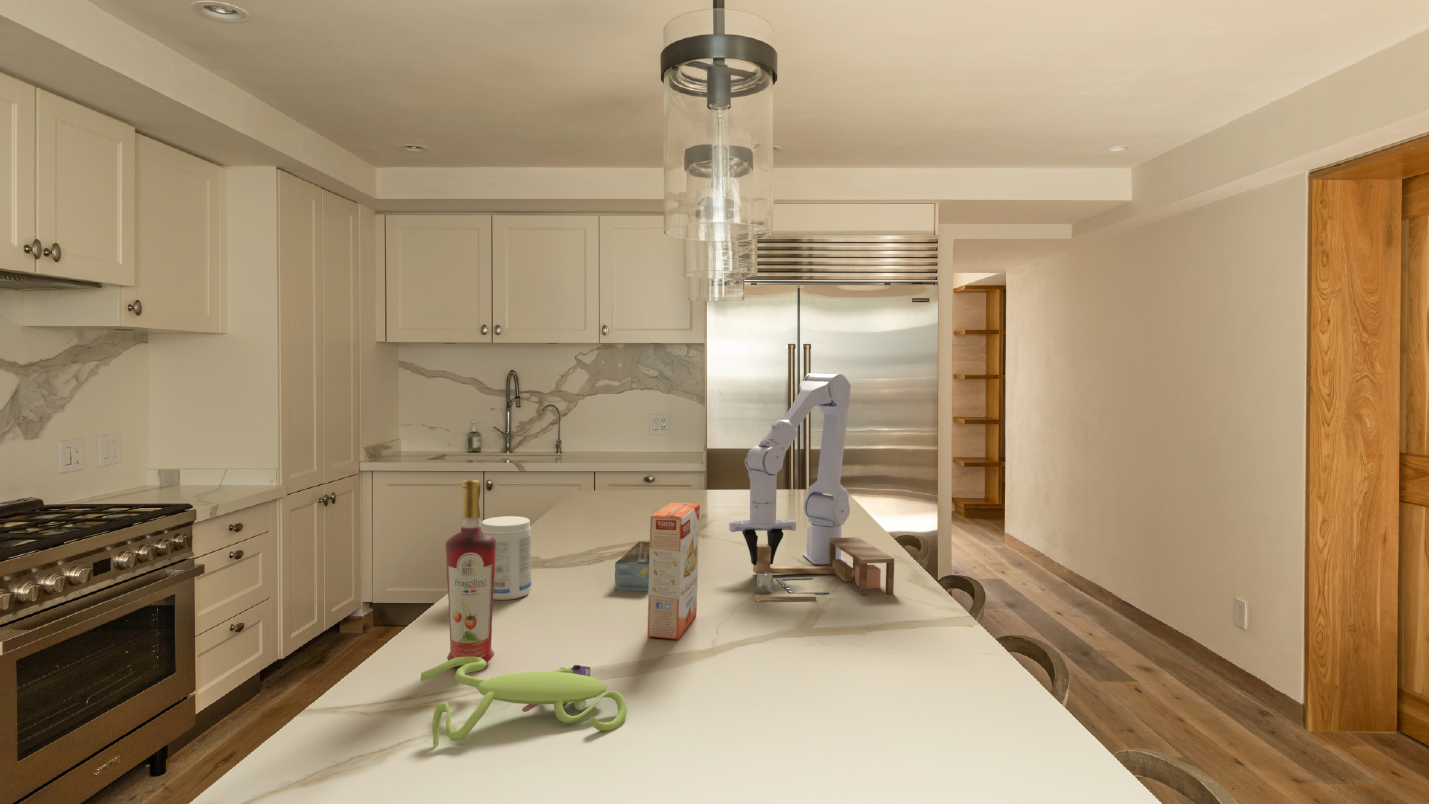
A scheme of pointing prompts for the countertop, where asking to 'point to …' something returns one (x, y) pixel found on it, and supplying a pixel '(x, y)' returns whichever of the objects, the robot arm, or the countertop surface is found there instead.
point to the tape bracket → (796, 579)
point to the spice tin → (764, 583)
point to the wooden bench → (863, 559)
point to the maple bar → (785, 597)
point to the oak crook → (765, 558)
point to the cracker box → (673, 569)
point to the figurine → (526, 693)
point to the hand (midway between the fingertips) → (761, 563)
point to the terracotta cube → (870, 576)
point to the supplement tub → (510, 555)
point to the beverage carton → (633, 569)
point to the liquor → (470, 581)
